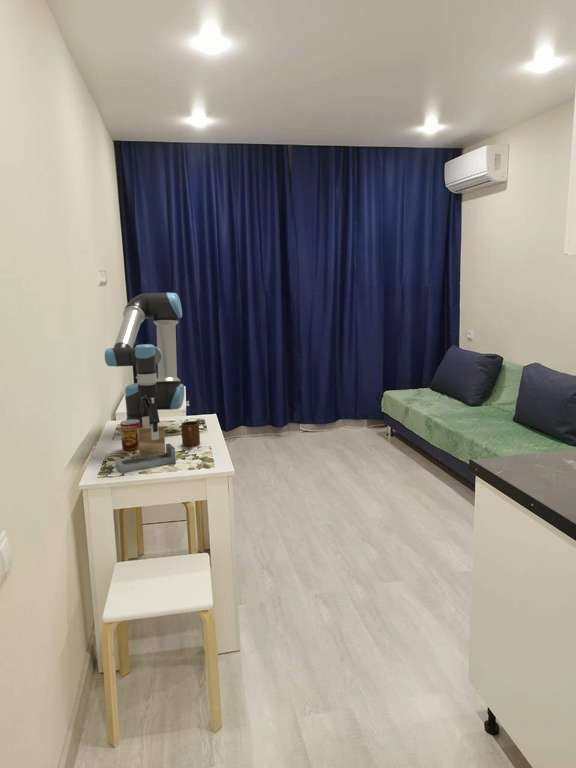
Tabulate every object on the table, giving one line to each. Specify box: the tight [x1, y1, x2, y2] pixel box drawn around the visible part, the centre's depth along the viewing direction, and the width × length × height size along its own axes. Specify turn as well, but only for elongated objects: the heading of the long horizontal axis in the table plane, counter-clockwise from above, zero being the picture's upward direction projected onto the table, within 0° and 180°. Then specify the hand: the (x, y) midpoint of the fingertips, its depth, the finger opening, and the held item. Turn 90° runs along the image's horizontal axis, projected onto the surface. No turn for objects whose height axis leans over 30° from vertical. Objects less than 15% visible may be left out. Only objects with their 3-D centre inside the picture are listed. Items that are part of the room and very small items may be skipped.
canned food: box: [119, 419, 140, 453], centre depth 239 cm, size 8×8×12 cm
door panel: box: [137, 424, 166, 457], centre depth 229 cm, size 3×10×12 cm, turn 118°
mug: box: [180, 420, 201, 447], centre depth 242 cm, size 12×8×9 cm, turn 7°
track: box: [115, 443, 177, 473], centre depth 219 cm, size 7×21×6 cm, turn 118°
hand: (150, 435), depth 228 cm, fingers open, 13 cm apart
